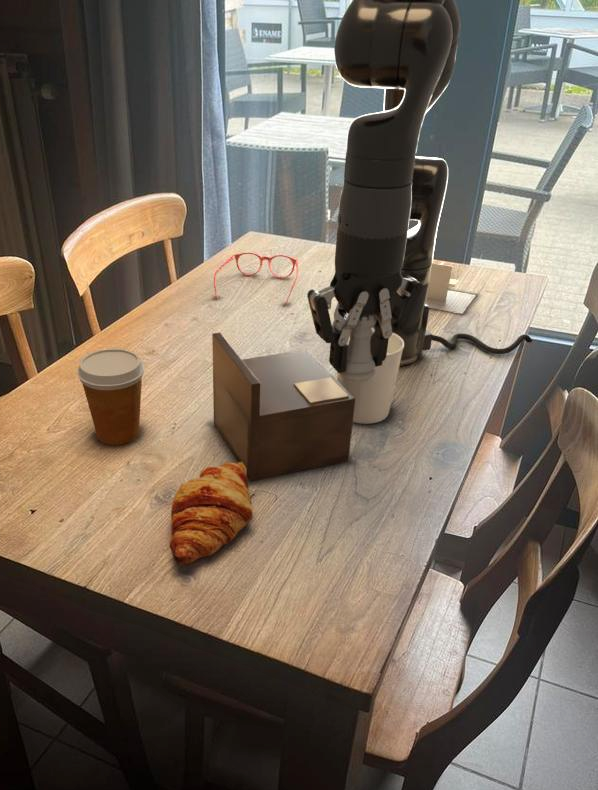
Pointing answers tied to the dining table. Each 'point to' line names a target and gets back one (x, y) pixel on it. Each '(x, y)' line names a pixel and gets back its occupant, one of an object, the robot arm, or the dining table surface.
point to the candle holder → (376, 386)
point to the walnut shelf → (280, 411)
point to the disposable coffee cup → (113, 393)
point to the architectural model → (445, 291)
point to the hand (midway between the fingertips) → (357, 366)
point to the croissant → (209, 511)
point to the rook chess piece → (360, 351)
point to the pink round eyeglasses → (260, 267)
